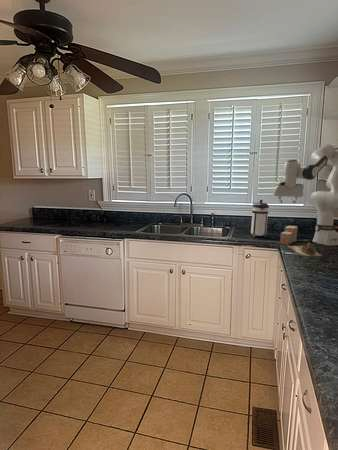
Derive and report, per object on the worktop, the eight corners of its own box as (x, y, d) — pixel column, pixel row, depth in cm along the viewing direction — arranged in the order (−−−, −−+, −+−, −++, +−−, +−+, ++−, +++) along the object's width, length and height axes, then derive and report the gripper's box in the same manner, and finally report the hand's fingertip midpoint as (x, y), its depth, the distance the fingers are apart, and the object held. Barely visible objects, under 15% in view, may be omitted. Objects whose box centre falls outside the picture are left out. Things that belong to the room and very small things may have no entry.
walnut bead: (310, 251, 204) (311, 245, 203) (315, 254, 198) (315, 248, 198) (301, 251, 204) (302, 245, 203) (305, 254, 198) (306, 248, 197)
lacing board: (306, 248, 219) (307, 236, 218) (323, 258, 196) (324, 245, 194) (286, 247, 219) (287, 236, 217) (301, 257, 195) (302, 244, 194)
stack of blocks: (288, 247, 222) (289, 230, 219) (279, 245, 225) (280, 228, 223) (296, 241, 239) (298, 226, 236) (288, 240, 242) (289, 225, 240)
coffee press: (272, 236, 253) (275, 200, 247) (259, 239, 244) (262, 201, 238) (255, 232, 267) (258, 198, 261) (242, 234, 258) (245, 198, 252)
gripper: (302, 183, 221) (300, 202, 223) (273, 182, 220) (271, 202, 223) (306, 183, 214) (303, 203, 217) (276, 183, 214) (274, 203, 217)
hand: (287, 202), depth 220 cm, fingers open, 8 cm apart
